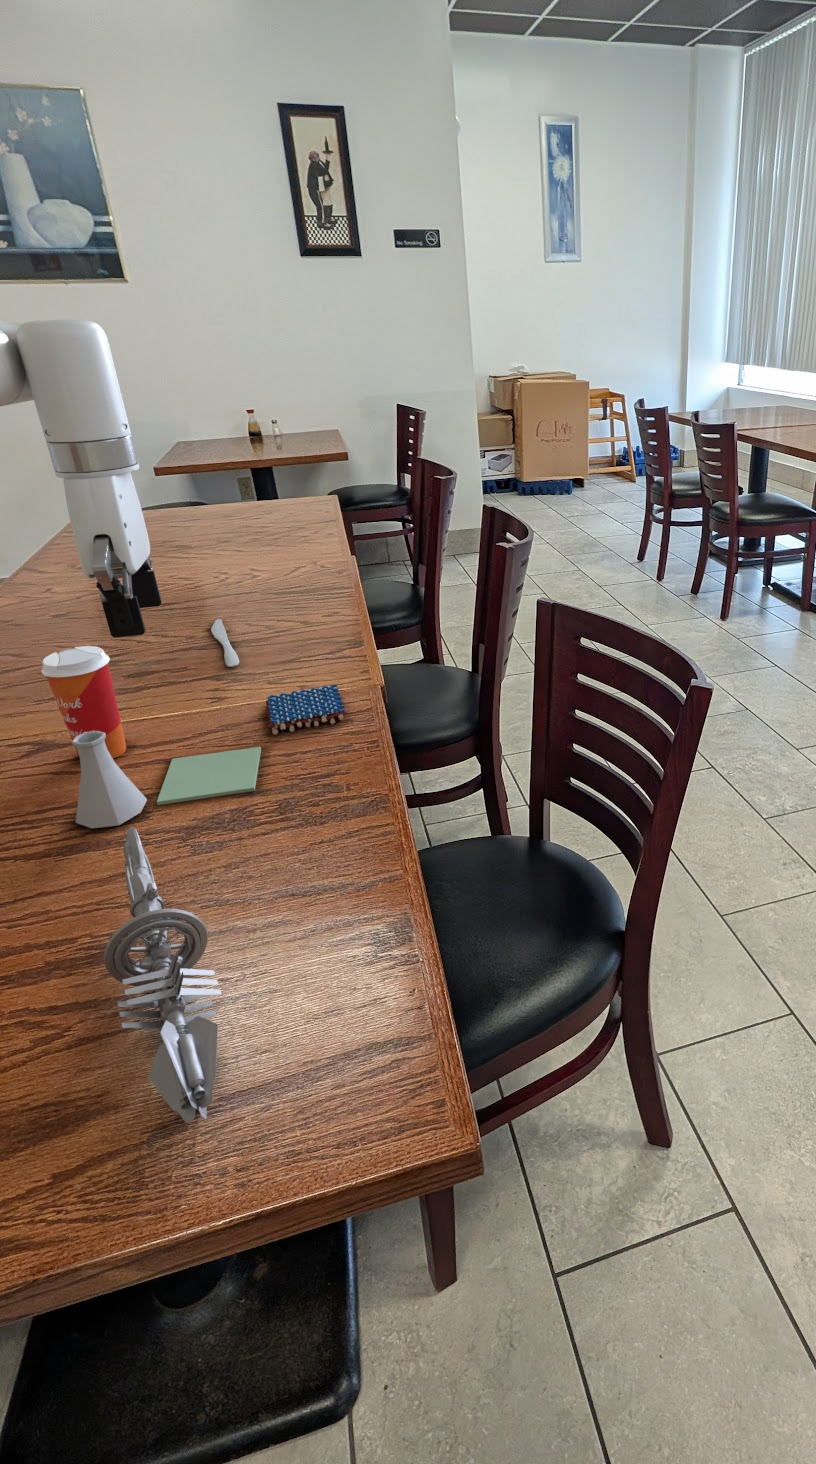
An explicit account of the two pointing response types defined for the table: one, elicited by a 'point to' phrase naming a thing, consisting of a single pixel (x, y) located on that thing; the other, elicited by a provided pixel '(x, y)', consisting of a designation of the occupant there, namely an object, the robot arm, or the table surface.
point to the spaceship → (166, 987)
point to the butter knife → (225, 643)
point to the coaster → (210, 775)
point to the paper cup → (86, 694)
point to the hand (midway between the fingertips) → (138, 620)
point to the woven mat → (304, 708)
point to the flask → (103, 786)
